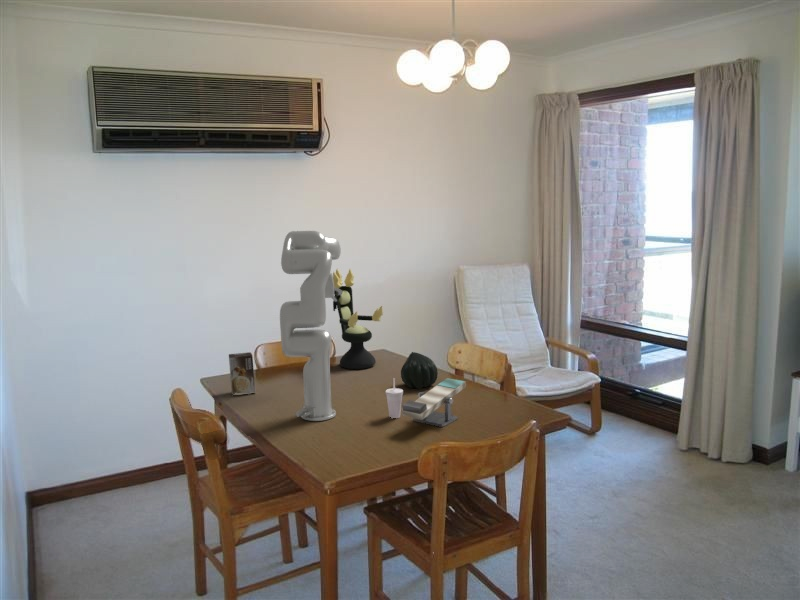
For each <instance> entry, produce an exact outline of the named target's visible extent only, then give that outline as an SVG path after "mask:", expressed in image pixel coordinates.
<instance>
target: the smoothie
mask: <svg viewBox="0 0 800 600" xmlns="http://www.w3.org/2000/svg"><path fill="white" fill-rule="evenodd" d="M392 379H393V380H392V381H393V382H392V385H393V387H392V388H388V389H386V390H385V395H386V401H387V408H388V409H387V410H388V414H389V418H390V417H391V418H390V419H393V418H396V419H400V418H401V413H402V402H403V394H404V390H403V389H402V388H399V387H398V388H397V387H396V378H395V377H393V378H392Z"/></svg>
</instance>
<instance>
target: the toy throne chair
mask: <svg viewBox="0 0 800 600" xmlns="http://www.w3.org/2000/svg"><path fill="white" fill-rule="evenodd" d="M332 275H333V281H334V287H336V288H338V289H340V290H342V291H343V293H342V295H341V297H340V298H339V299H338V300H337V312H338V317H339V324H340V326H341V327H340V328H341V339H342V340H343V341H344V342H345V343H346V342H347V343H350V348H349V349H348V350H347V351H346V352H345V353H344V354H343V355H342V356H341V358H340V360H339V365H340V366H341V368H344V369H348V370H363V369H368V368H369V369H370V368H372V367H373V365H374V366H375V364H376V363H377V361H376V358H375V357H374V355H373V354H372V353H371V352H370V351H368V350H367V349H366V348H365V347H364V343H365V342H369V341H371V339H372V338H373V334H372V332H371V331H370V330H369V328H366V327H365V326H362V325H357V322H358V321H368V322H369V321H373V322H382V320H381V317H382V316H383V315H384V314H383V313H384V312H383V310H384V309H383V305H381V306H380V307H379V308H376V310H375V311H374V313H373V314H372V315H360V314H359V315H358V311H355V312H354V303H353V302H354V301H353V299H354V298H353V289H352V287H353V286H354V284H355V283H354V278H355V276H354V274H353V272H352V269H351V268H349V269H348V272H347V274H346V276H345V279H344V283H343V282H342V281H343V280H342V277H343V276H342V274H341V273H340V270H339V268H336V270H335V271H333V272H332ZM343 284H345V285H343ZM338 294H339V292H337V291H335V290H334V296H335V297H337V296H338Z"/></svg>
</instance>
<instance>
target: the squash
mask: <svg viewBox="0 0 800 600" xmlns="http://www.w3.org/2000/svg"><path fill="white" fill-rule="evenodd" d="M400 378H401V380H402V382H403V383H404V384H405V386H408V387H409V388H411V389H417V390H420V389H423V387H425V388H427V387H429V386H432V385H434V384H435V383H436V381H437V380H438V367H437V365H436V364H435V362H434V361H433V359H431V358H430V357H428V356H426V355H424V354H421V353H418V352H414V351H411V353H409V355H408V357H407V359H406V360H405V362H404V363H403V365H402V366H401V369H400Z"/></svg>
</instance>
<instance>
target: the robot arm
mask: <svg viewBox="0 0 800 600" xmlns="http://www.w3.org/2000/svg"><path fill="white" fill-rule="evenodd" d="M341 249H342V248H341V245H340V241H339V240H338V239H337V238H333V237H327V236H324V235H323V234H322V233H321V232H319V231H316V230H296V231H295V230H292V231H290V232H288V233H287V234H286V235H285V238H284V242H283V247H282V252H281V261H280V264H281V265H280V266H281V269H282V271H283V272H284V273H285V274H288V275H307V274H309V275H308V276H307V277H306V278H305V280H303V282H302V284H301V286H300V287H299V292H300V293H299V295H300V300H291V301H290V300H289V301H284V303H282V304H281V307H280V309H279V310H280V311H279V327H280V343H281V344H280V345H281V351H282V353H283V355H284V356H285V357H288V358H304V357H305V358H309V359H308V360H307V361H306V362H305V364H304V366H303V368H302V369H303V370H302V373H303V374H302V375H303V396H304V400H303V401H304V405H302V408H301V409H300V410H297V411H296V412H295V416H296V418H301V419H303V420H306V421H309V422H310V421H311V422H321V421H327V420H331V419H333V418H334V417H335V416H336V415H337V411H336V410H335V409H334V408H332V395H331V394H332V391H331V390H332V389H331V388H332V387H331V349H332V336H331V334H330V332H328V331H327V330H324V329H318V328H320V327H322V326H324V325H325V323H326V321H327V310H326V309H327V307H326V306H327V305H326V299H332V300H333V301H332V305H333V306H332V307H333V308H332V309H333V310H332V311H333V312H336V310H338V308H337V300H338V299H339V298H340V297H341V295H342V293H343V291H342V290H340V289H338V288H336V287H334V281H333V272H331V270H332V266H333V265H332V264H333V261H334V260H338V259H339V258H340V256H341V254H342V253H341ZM334 290H335V291H337V292H339V294H338V296H337V297H335V294H334ZM311 328H312V329H311ZM313 328H317V329H313Z"/></svg>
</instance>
